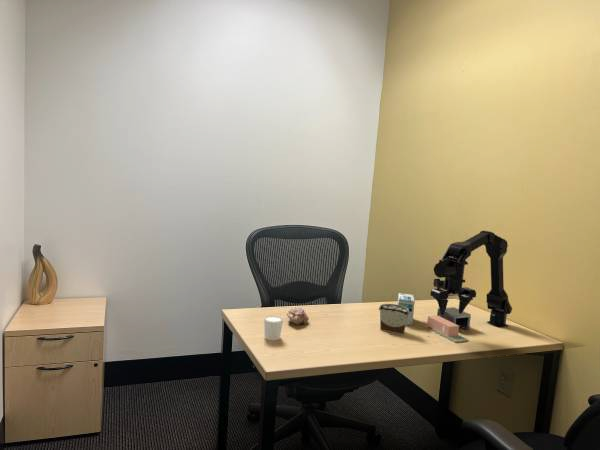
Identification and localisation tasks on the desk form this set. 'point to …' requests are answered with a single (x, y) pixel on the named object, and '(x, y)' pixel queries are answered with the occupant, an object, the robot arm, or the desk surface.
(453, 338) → the green block
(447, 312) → the dispenser
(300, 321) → the mineral specimen
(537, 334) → the desk surface
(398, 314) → the food container
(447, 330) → the pink block
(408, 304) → the light bulb box
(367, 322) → the desk surface
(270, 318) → the white cylinder
